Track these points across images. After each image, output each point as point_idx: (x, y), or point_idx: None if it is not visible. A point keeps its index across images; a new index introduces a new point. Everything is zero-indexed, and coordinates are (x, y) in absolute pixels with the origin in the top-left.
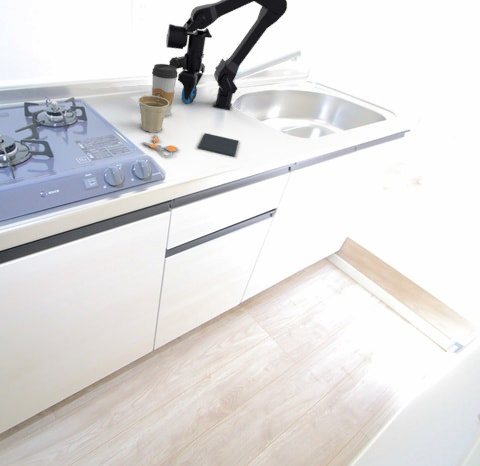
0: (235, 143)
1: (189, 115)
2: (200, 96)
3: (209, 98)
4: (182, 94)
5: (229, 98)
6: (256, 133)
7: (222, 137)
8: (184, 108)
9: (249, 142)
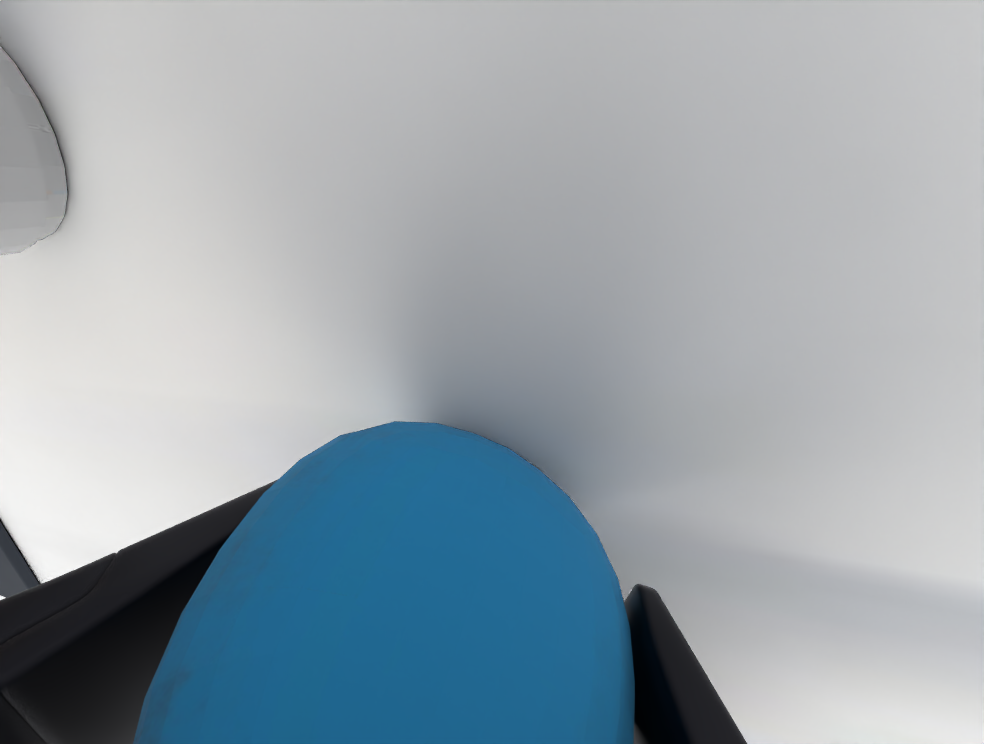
0: (4, 592)
1: (171, 438)
2: (809, 643)
3: (741, 697)
4: (287, 474)
5: None
6: None
7: (5, 560)
8: (304, 413)
9: None
